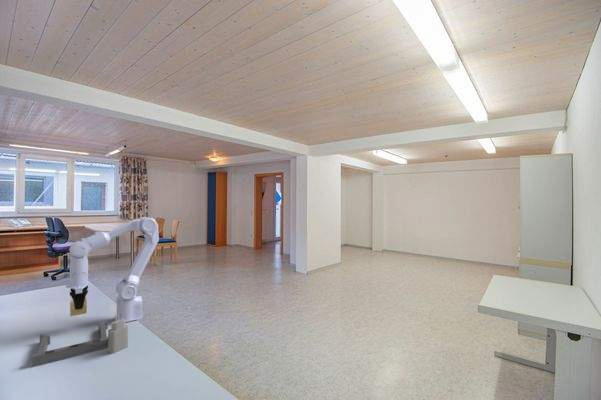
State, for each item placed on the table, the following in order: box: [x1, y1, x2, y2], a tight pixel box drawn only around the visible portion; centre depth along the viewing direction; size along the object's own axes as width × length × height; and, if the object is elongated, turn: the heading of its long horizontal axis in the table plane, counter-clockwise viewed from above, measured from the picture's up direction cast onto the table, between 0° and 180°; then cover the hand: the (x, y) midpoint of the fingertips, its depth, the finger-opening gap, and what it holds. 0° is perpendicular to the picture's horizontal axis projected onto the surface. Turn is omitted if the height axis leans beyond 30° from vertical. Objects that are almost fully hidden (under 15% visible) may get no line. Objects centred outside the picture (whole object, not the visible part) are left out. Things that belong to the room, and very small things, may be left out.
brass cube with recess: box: [69, 297, 88, 317], centre depth 113 cm, size 5×4×5 cm
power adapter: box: [107, 314, 129, 354], centre depth 99 cm, size 3×5×12 cm, turn 153°
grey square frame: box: [31, 320, 109, 368], centre depth 101 cm, size 20×19×3 cm
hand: (79, 307), depth 113 cm, fingers closed on brass cube with recess, 4 cm apart
